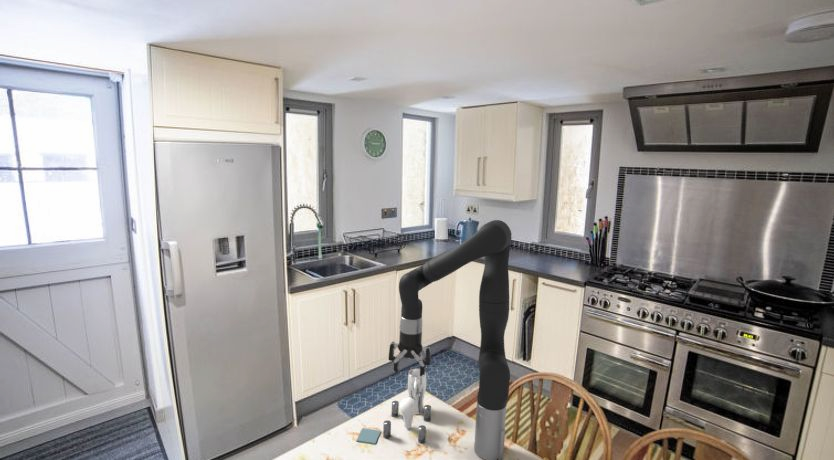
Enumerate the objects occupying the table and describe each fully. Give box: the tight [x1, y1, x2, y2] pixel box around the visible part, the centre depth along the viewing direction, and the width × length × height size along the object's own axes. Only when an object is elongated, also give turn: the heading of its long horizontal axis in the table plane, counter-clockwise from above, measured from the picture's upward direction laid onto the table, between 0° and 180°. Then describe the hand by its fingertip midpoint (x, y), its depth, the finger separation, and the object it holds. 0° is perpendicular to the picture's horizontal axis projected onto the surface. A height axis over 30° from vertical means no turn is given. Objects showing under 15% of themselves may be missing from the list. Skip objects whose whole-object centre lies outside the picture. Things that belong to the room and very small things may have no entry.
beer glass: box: [407, 368, 427, 416], centre depth 152 cm, size 7×7×15 cm
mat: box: [356, 427, 381, 445], centre depth 137 cm, size 6×6×1 cm
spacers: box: [382, 400, 432, 445], centre depth 142 cm, size 14×14×5 cm
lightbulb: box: [399, 396, 417, 429], centre depth 142 cm, size 6×6×11 cm
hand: (409, 373), depth 139 cm, fingers open, 8 cm apart
